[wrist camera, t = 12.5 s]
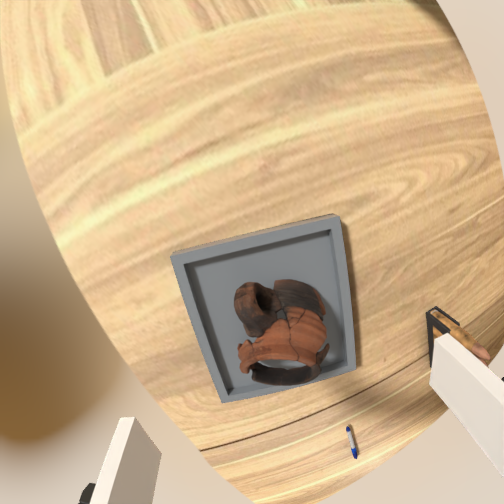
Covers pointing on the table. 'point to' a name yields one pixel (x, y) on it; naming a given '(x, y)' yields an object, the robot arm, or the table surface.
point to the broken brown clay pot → (281, 331)
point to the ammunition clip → (444, 324)
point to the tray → (266, 272)
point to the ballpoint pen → (351, 442)
